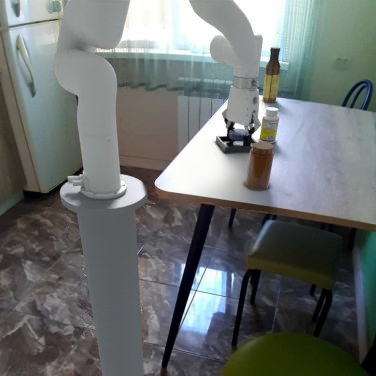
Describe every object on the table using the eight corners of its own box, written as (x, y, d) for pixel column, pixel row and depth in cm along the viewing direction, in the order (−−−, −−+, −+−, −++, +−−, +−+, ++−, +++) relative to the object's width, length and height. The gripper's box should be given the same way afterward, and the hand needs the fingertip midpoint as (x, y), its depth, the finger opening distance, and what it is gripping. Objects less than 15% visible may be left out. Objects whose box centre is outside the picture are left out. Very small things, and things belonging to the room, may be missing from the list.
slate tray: (224, 153, 132) (225, 147, 131) (215, 141, 140) (216, 136, 139) (260, 151, 135) (261, 146, 133) (249, 140, 142) (250, 134, 141)
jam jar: (249, 190, 112) (255, 150, 105) (242, 181, 116) (247, 141, 109) (271, 189, 113) (279, 149, 106) (263, 179, 118) (270, 140, 110)
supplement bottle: (264, 137, 145) (269, 105, 138) (278, 141, 143) (283, 108, 136) (256, 141, 142) (260, 108, 135) (270, 145, 140) (275, 112, 133)
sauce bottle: (276, 100, 185) (285, 46, 171) (275, 103, 180) (284, 49, 167) (262, 98, 186) (269, 45, 172) (260, 102, 181) (268, 47, 168)
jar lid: (238, 133, 139) (239, 127, 138) (253, 138, 135) (254, 132, 134) (224, 136, 136) (224, 131, 135) (239, 142, 132) (239, 136, 131)
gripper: (275, 86, 122) (265, 149, 134) (232, 75, 131) (227, 135, 143) (258, 90, 118) (250, 154, 130) (216, 78, 127) (211, 139, 140)
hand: (238, 143), depth 137 cm, fingers closed on jar lid, 6 cm apart
